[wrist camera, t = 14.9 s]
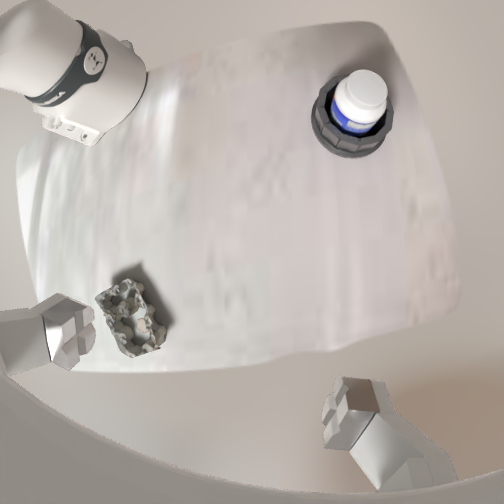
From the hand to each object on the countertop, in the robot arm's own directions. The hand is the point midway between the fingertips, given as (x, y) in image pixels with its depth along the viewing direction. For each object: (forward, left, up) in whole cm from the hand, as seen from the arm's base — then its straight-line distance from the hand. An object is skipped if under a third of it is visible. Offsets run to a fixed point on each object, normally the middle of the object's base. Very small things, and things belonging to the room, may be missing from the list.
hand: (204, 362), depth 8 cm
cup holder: (+5, +18, -28) cm, 34 cm away
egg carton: (-17, -14, -28) cm, 36 cm away
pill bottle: (+5, +19, -27) cm, 33 cm away
